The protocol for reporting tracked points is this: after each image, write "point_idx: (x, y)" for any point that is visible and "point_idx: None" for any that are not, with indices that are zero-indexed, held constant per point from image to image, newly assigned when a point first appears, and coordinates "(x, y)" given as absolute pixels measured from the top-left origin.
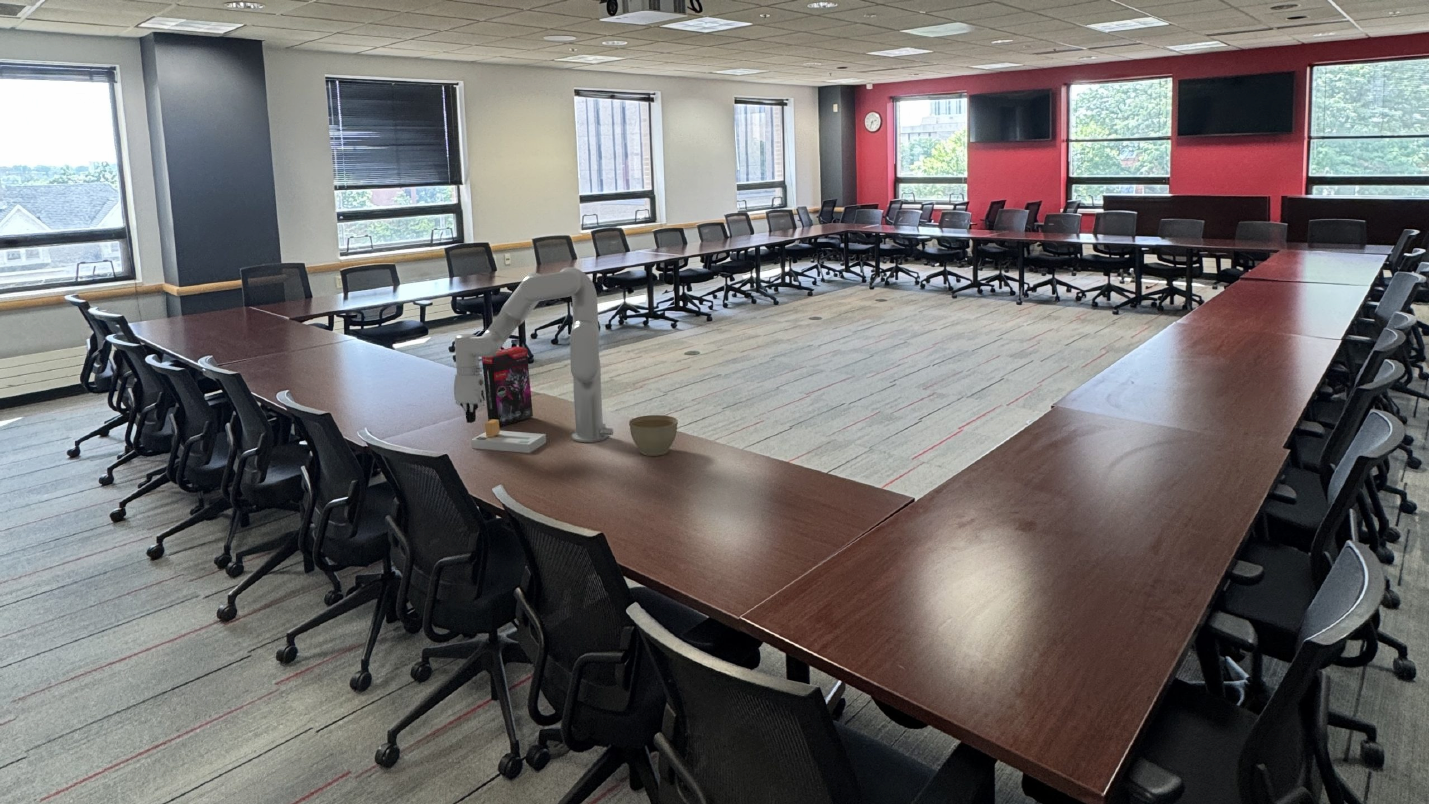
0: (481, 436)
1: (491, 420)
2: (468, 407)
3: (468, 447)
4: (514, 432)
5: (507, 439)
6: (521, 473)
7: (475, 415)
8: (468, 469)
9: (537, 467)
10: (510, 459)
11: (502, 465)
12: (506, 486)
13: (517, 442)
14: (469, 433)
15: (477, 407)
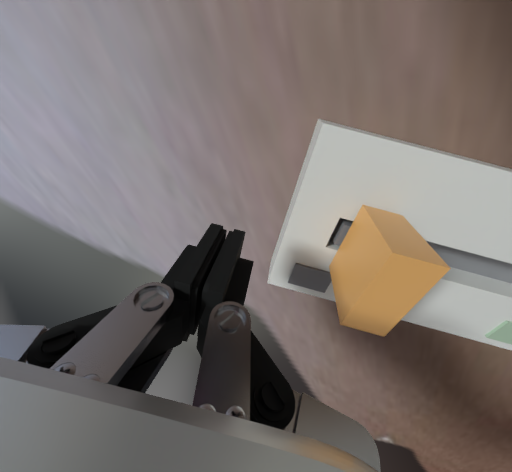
0: (301, 248)
1: (383, 278)
2: (157, 338)
3: (255, 252)
4: (508, 187)
5: (437, 297)
6: (437, 417)
7: (248, 281)
8: (309, 384)
9: (489, 404)
10: (417, 356)
11: (391, 381)
12: (398, 443)
13: (480, 333)
14: (162, 6)
15: (266, 368)
